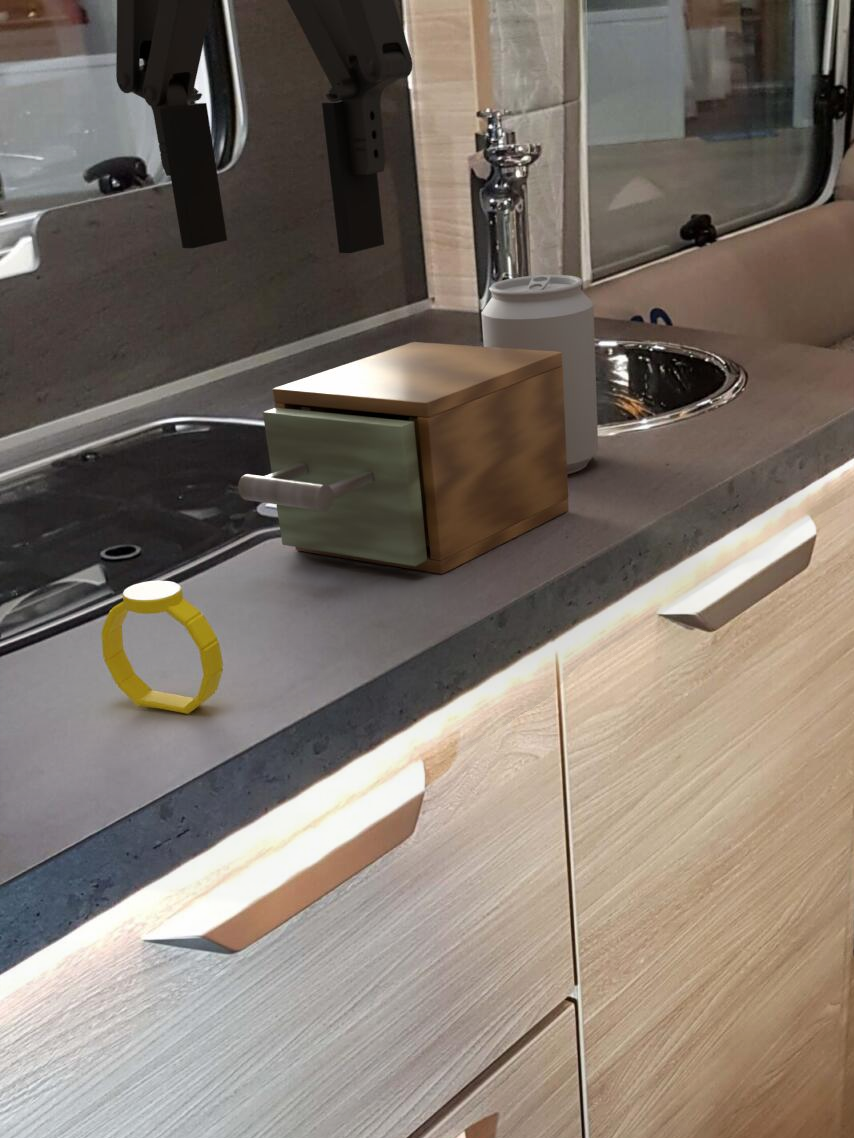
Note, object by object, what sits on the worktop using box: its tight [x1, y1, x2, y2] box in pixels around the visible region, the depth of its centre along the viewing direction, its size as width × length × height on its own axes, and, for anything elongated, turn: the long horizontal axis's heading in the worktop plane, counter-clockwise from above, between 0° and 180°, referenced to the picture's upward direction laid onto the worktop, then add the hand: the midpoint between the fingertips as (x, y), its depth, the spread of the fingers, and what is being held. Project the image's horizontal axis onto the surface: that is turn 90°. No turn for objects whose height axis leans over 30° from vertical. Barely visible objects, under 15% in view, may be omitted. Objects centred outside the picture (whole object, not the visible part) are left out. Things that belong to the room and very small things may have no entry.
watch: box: [100, 580, 224, 715], centre depth 75 cm, size 6×3×6 cm, turn 68°
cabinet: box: [272, 341, 570, 575], centre depth 95 cm, size 14×12×10 cm
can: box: [481, 274, 599, 475], centre depth 105 cm, size 8×8×12 cm
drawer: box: [237, 406, 430, 566], centre depth 92 cm, size 18×10×8 cm, turn 145°
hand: (280, 246), depth 81 cm, fingers open, 10 cm apart
